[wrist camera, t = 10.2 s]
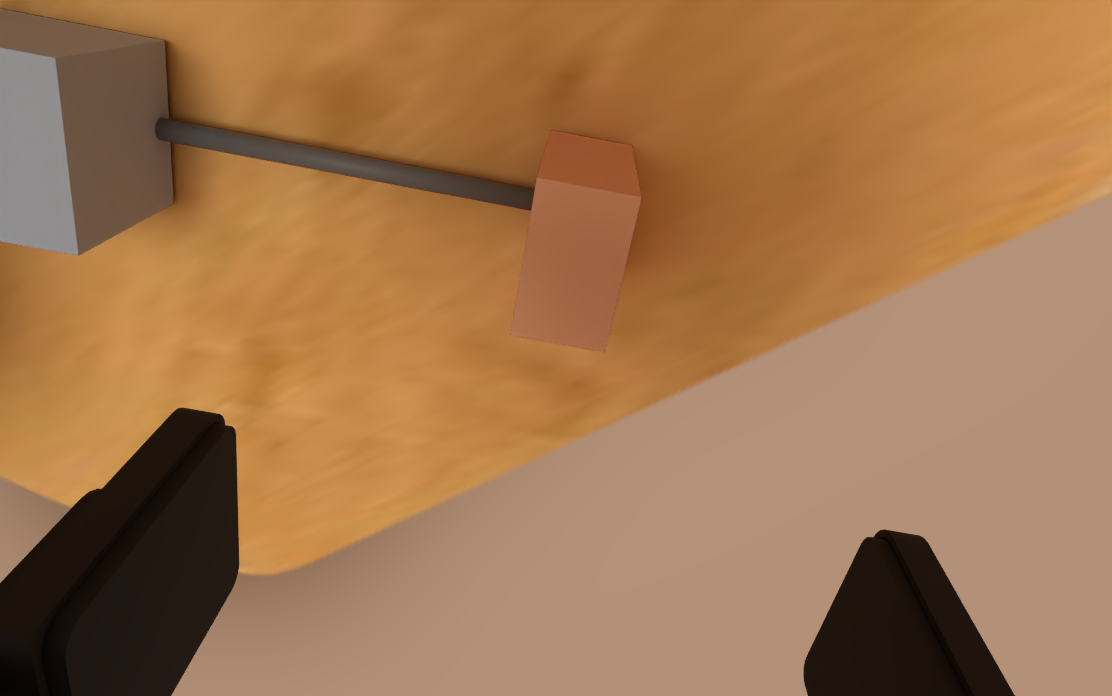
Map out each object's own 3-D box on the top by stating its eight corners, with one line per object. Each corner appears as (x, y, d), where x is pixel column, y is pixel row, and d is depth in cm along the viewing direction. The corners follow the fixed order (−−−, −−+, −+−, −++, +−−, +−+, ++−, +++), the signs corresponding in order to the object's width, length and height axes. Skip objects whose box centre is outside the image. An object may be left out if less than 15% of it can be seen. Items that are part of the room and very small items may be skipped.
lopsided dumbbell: (-7, 7, 26) (-194, 18, 20) (635, 131, 27) (645, 180, 21) (18, 174, 29) (-141, 230, 23) (601, 283, 30) (601, 366, 24)
